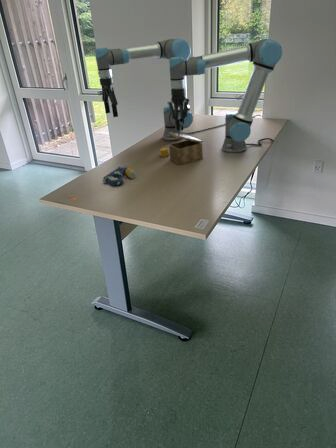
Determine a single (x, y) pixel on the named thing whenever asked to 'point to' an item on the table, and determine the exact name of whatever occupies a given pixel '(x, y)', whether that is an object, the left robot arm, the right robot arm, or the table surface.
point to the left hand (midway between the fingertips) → (111, 114)
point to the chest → (185, 151)
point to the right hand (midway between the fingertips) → (180, 130)
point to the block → (164, 152)
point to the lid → (183, 135)
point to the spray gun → (118, 175)
